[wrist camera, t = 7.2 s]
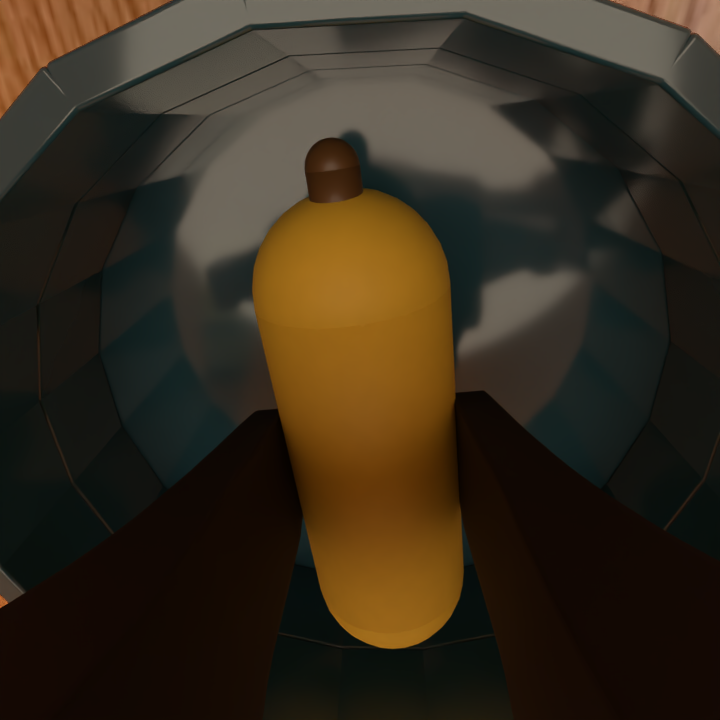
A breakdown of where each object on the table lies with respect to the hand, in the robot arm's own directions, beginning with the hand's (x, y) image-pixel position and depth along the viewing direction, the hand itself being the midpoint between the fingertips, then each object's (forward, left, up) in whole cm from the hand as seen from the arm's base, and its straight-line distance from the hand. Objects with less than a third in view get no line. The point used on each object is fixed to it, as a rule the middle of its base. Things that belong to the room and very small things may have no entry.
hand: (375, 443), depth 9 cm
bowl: (0, 0, -3) cm, 3 cm away
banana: (0, 0, -2) cm, 2 cm away
